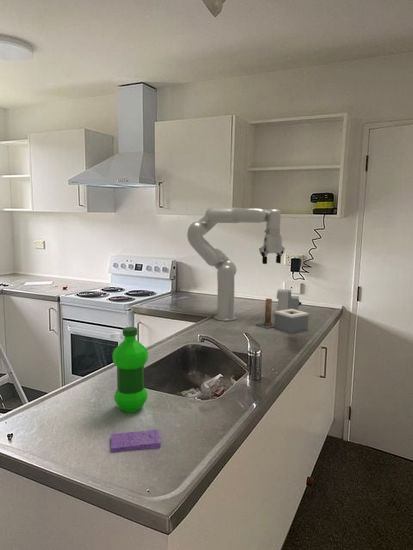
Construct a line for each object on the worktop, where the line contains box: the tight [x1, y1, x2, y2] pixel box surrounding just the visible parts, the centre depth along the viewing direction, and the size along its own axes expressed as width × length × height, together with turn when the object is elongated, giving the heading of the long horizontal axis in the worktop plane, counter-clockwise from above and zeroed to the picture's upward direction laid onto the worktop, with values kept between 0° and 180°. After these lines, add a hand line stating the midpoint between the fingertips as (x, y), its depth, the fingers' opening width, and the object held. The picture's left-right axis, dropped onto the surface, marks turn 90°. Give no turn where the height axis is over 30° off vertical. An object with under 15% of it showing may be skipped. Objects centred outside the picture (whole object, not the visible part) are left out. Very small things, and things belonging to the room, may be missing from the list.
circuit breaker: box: [275, 288, 302, 311], centre depth 247 cm, size 8×14×15 cm, turn 78°
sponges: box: [110, 428, 162, 453], centre depth 109 cm, size 7×13×2 cm, turn 102°
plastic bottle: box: [111, 326, 149, 413], centre depth 126 cm, size 10×10×25 cm
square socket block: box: [274, 309, 309, 334], centre depth 218 cm, size 12×12×9 cm
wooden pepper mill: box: [263, 298, 273, 326], centre depth 224 cm, size 4×4×14 cm
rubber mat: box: [255, 322, 275, 330], centre depth 225 cm, size 9×9×1 cm
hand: (271, 263), depth 231 cm, fingers open, 9 cm apart
